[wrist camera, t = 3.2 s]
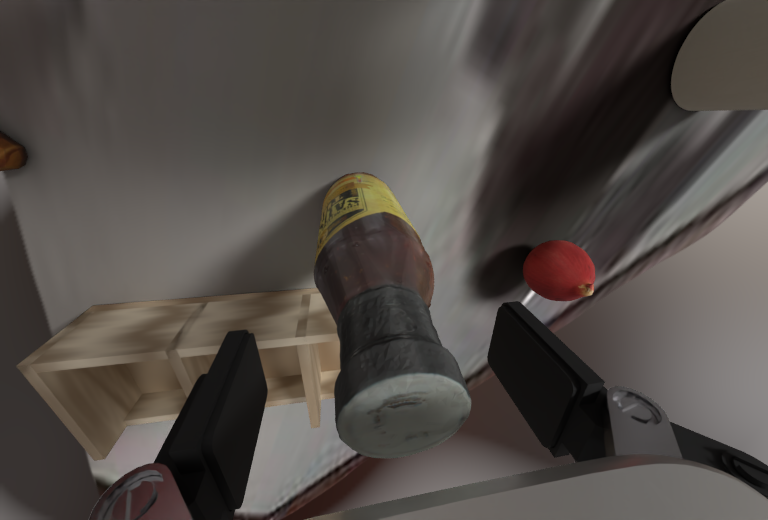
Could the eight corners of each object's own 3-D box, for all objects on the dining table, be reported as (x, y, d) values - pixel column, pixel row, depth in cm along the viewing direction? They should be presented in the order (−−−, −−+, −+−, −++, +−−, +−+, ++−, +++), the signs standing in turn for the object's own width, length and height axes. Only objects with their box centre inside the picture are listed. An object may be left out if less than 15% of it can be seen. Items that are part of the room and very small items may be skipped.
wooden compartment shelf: (401, 281, 30) (419, 324, 23) (398, 360, 35) (412, 413, 29) (92, 305, 25) (15, 366, 19) (142, 391, 31) (94, 460, 24)
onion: (564, 254, 31) (631, 294, 24) (521, 285, 32) (573, 332, 25) (545, 218, 29) (613, 251, 22) (498, 253, 30) (549, 295, 23)
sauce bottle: (339, 157, 23) (356, 284, 6) (404, 188, 25) (567, 352, 8) (311, 226, 25) (263, 470, 8) (373, 249, 27) (444, 484, 10)
